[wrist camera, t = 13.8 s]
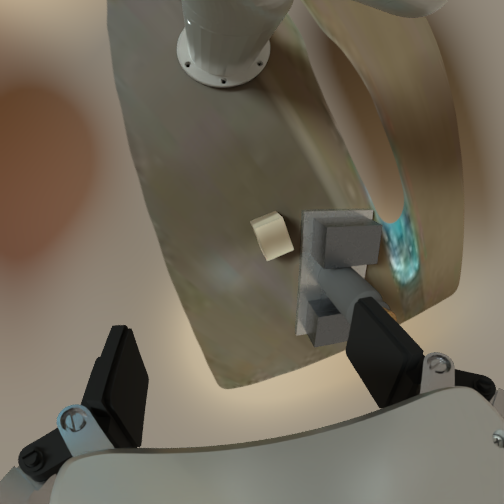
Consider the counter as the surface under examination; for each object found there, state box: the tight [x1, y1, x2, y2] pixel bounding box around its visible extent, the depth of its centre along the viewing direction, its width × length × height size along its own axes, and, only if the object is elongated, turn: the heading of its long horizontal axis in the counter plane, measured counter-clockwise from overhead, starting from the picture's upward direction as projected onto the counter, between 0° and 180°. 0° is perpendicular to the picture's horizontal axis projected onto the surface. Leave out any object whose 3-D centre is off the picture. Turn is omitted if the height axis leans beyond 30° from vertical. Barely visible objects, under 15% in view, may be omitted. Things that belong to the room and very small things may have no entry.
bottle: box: [318, 267, 397, 325], centre depth 38 cm, size 6×6×15 cm
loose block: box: [250, 211, 294, 261], centre depth 40 cm, size 5×4×4 cm
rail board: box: [295, 209, 382, 347], centre depth 43 cm, size 22×12×6 cm, turn 1°
